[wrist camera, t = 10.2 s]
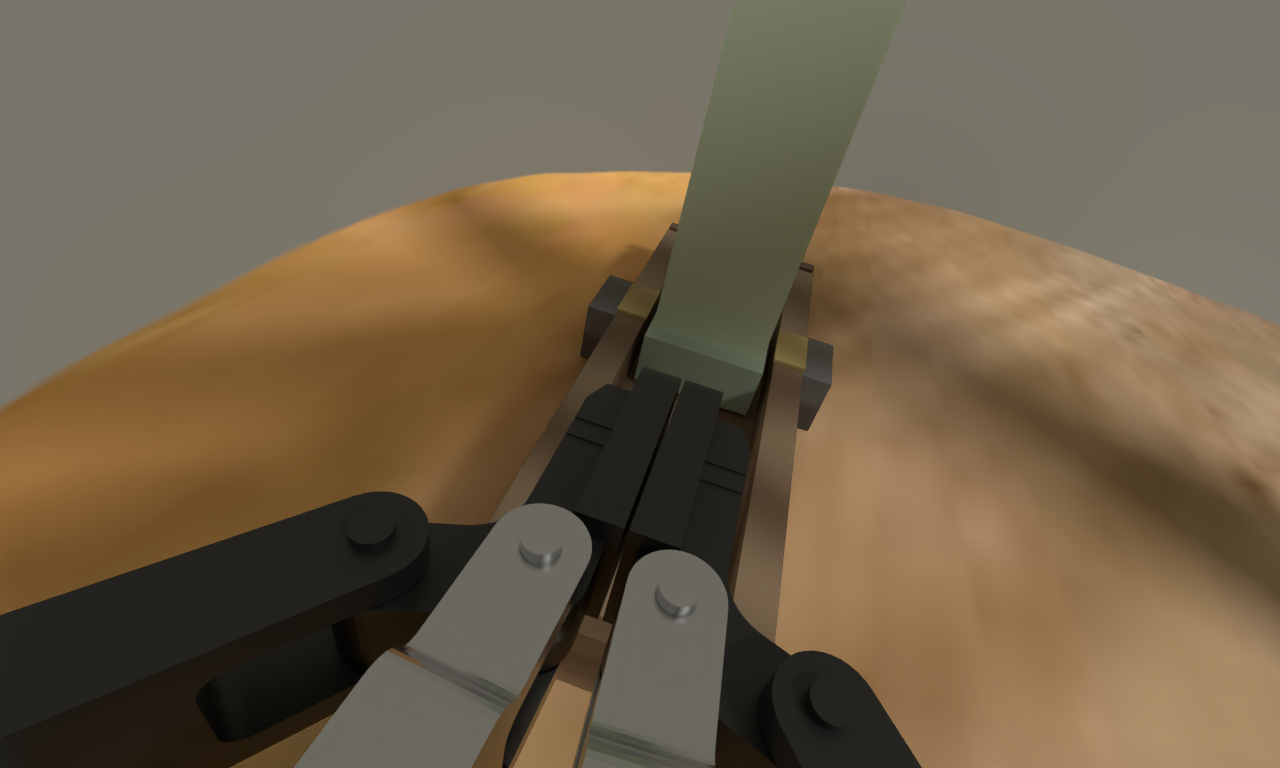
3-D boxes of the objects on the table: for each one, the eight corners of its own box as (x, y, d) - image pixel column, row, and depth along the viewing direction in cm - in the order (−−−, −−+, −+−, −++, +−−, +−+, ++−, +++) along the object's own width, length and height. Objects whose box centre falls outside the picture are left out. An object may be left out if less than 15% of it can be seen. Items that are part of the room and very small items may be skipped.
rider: (745, 415, 25) (969, -128, 14) (634, 378, 25) (767, -176, 14) (761, 339, 29) (939, -112, 19) (667, 309, 30) (787, -149, 19)
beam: (780, 764, 16) (821, 720, 14) (410, 622, 16) (404, 564, 15) (817, 312, 34) (836, 269, 32) (642, 258, 35) (652, 213, 33)
